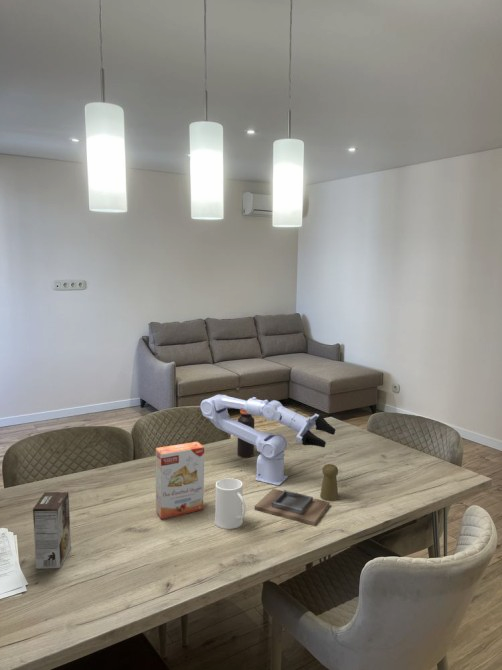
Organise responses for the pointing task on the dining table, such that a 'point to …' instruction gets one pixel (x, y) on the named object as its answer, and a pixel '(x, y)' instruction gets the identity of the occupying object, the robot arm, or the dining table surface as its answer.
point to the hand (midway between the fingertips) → (330, 438)
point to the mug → (229, 503)
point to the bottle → (243, 446)
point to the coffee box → (51, 530)
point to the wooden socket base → (292, 506)
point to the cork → (329, 483)
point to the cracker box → (179, 479)
